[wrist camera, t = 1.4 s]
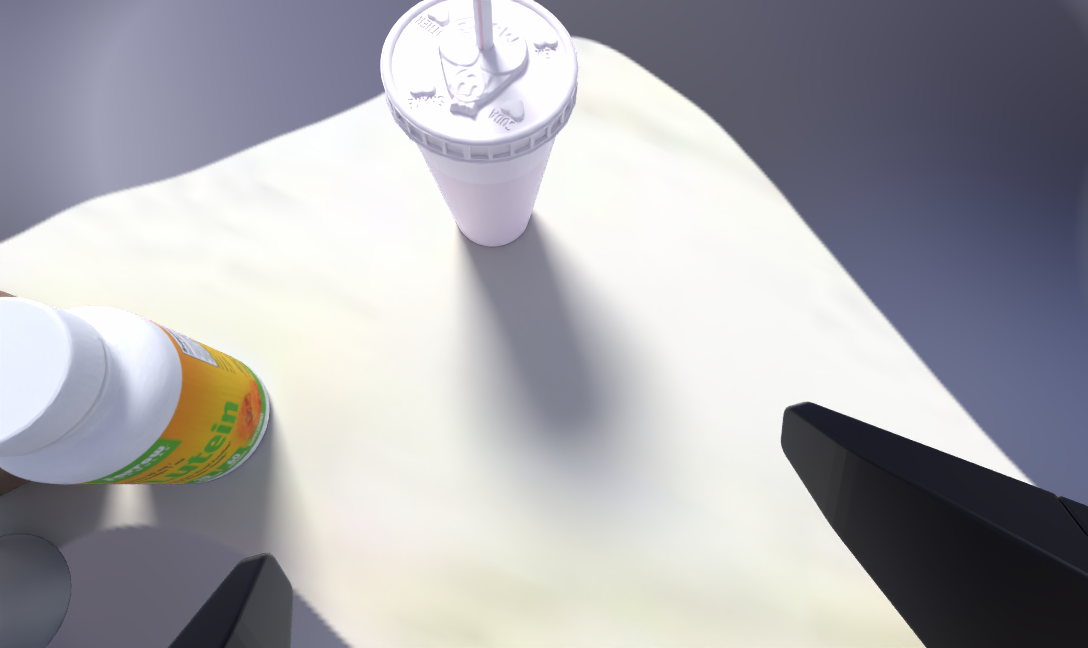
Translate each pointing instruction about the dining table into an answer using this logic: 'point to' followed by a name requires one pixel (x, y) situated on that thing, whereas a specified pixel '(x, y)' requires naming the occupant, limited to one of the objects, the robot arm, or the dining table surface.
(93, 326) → the supplement bottle
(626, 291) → the dining table surface
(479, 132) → the smoothie
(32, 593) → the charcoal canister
